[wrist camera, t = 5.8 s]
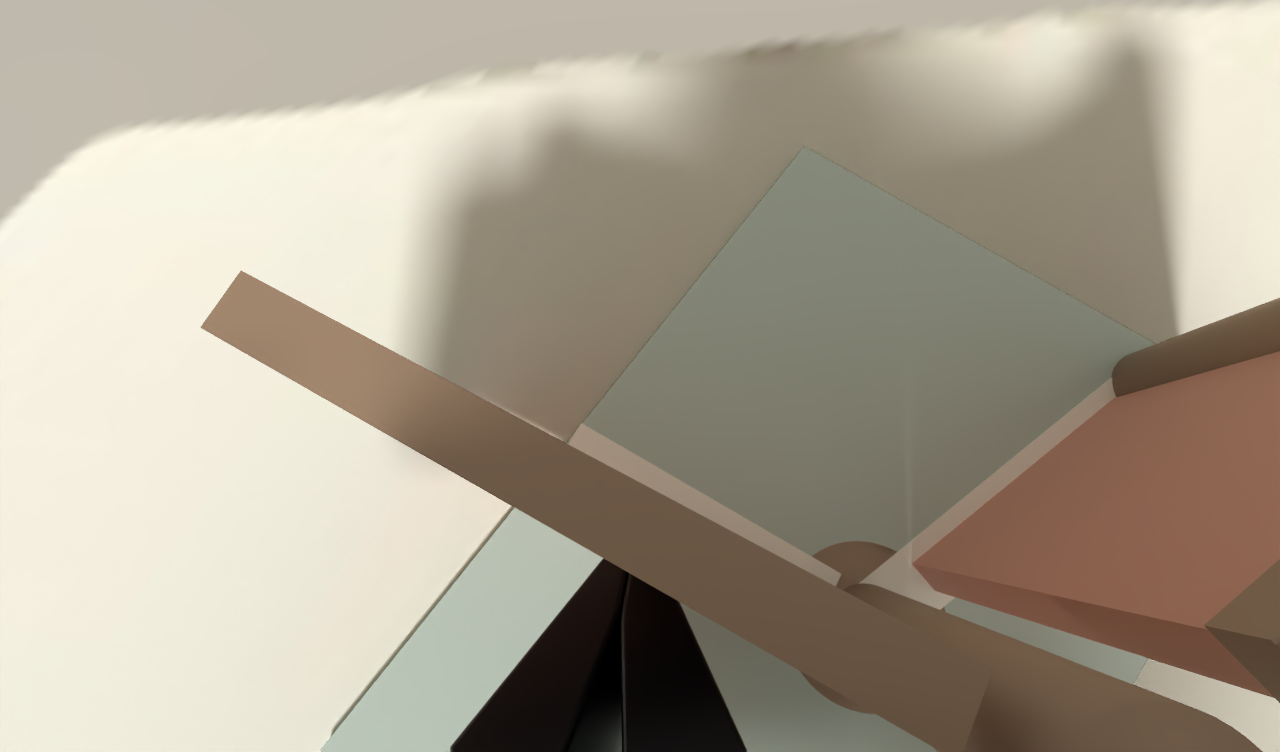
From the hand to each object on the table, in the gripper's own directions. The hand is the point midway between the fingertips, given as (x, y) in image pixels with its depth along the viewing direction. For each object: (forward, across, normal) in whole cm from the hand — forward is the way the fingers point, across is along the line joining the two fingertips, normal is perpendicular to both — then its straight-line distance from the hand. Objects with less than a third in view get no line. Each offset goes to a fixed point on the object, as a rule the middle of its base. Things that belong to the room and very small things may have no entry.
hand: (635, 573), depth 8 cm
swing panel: (+5, 0, -4) cm, 6 cm away
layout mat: (+4, +3, -5) cm, 8 cm away
